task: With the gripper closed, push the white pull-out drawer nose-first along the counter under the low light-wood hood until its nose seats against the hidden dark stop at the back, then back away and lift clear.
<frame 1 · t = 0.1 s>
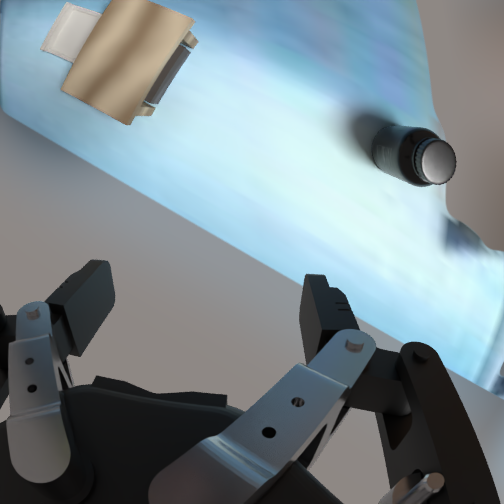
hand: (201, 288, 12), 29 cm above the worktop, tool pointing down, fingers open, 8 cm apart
supplement bottle: (393, 149, 37), on the worktop
hood: (140, 61, 33), on the worktop
white pull-out drawer: (93, 40, 31), on the worktop
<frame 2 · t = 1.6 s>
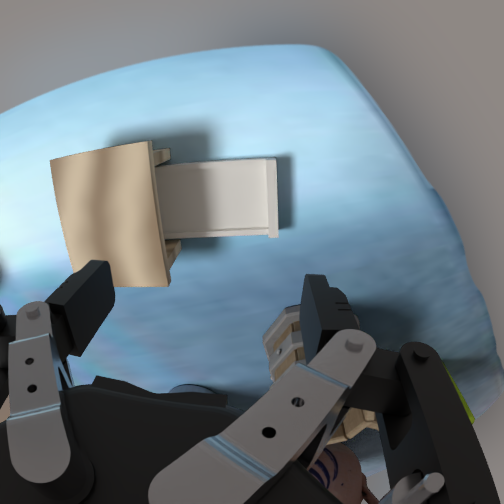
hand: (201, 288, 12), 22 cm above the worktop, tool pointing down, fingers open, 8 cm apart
ceramic pitcher: (319, 445, 52), on the worktop
tankard: (332, 348, 41), on the worktop
hood: (130, 204, 34), on the worktop
white pull-out drawer: (206, 197, 33), on the worktop
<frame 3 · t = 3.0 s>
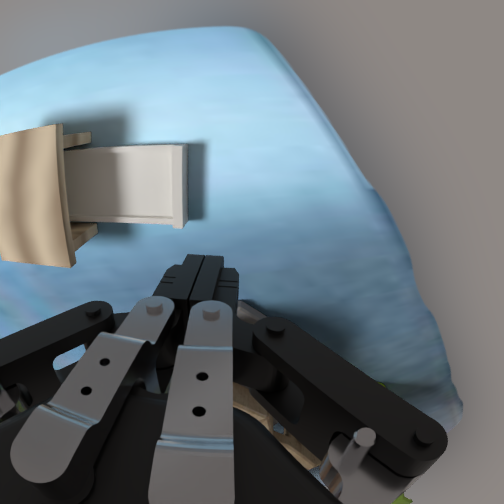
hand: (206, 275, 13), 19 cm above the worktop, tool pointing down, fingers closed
tankard: (252, 354, 39), on the worktop
hood: (55, 185, 30), on the worktop
white pull-out drawer: (120, 182, 30), on the worktop
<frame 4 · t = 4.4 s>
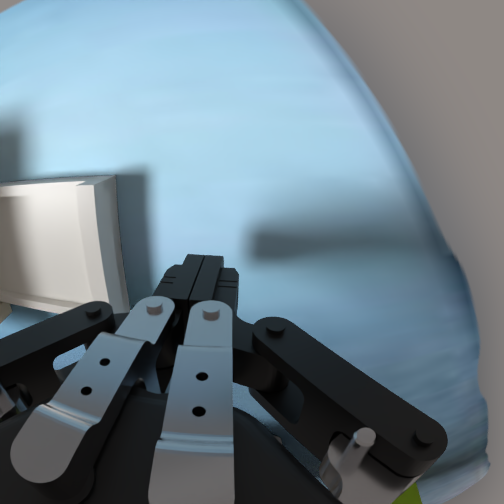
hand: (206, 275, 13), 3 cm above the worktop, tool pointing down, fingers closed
soap dispenser: (392, 481, 28), on the worktop
white pull-out drawer: (24, 242, 16), on the worktop
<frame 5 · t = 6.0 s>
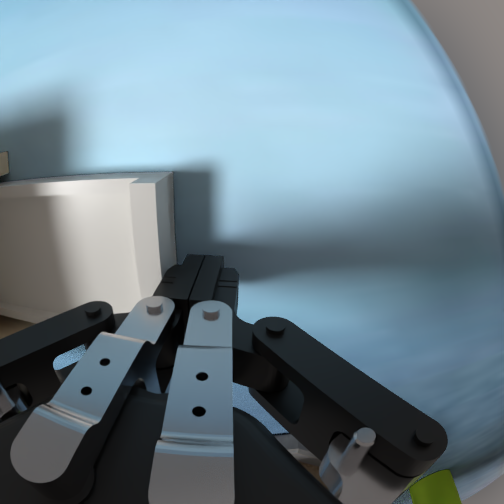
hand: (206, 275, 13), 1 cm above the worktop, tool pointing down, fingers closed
soap dispenser: (430, 480, 26), on the worktop
tankard: (301, 475, 23), on the worktop
white pull-out drawer: (48, 251, 14), on the worktop, touching gripper
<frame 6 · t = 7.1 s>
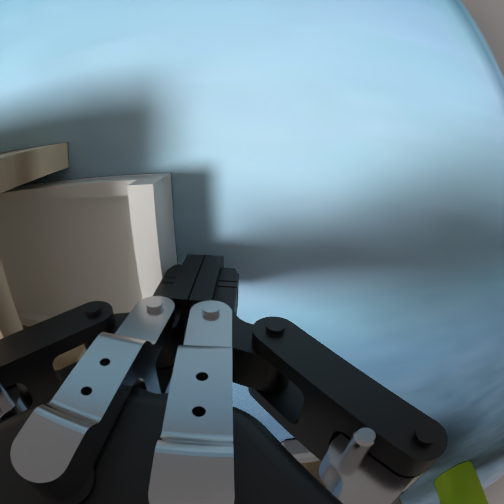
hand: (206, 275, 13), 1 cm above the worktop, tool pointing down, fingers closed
soap dispenser: (453, 472, 27), on the worktop
tankard: (344, 471, 23), on the worktop
hood: (9, 251, 14), on the worktop
white pull-out drawer: (49, 256, 14), on the worktop, touching gripper, hood
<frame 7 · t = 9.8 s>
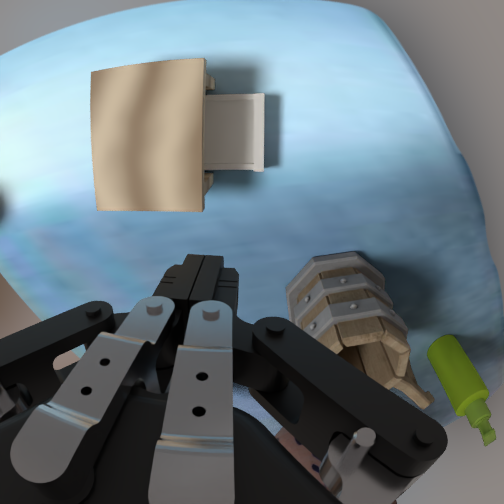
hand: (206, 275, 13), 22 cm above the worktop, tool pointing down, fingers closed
ceramic pitcher: (323, 422, 52), on the worktop
soap dispenser: (442, 348, 44), on the worktop
tankard: (353, 308, 40), on the worktop
hood: (164, 132, 31), on the worktop
white pull-out drawer: (193, 132, 31), on the worktop, touching hood
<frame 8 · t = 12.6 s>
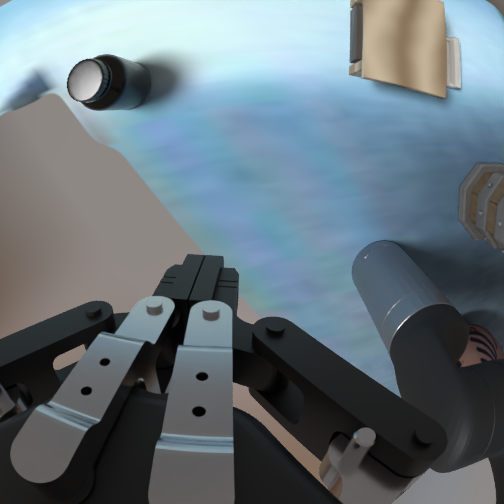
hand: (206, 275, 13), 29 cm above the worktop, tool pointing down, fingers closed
ceramic pitcher: (451, 342, 52), on the worktop
supplement bottle: (129, 86, 35), on the worktop
tankard: (493, 213, 41), on the worktop
hood: (388, 44, 32), on the worktop
white pull-out drawer: (409, 51, 32), on the worktop
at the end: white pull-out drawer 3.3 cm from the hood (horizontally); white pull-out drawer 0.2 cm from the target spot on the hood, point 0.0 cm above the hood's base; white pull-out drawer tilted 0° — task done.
